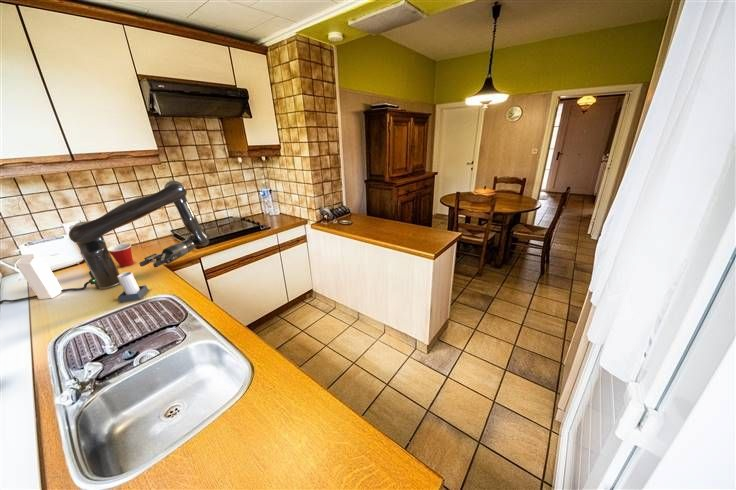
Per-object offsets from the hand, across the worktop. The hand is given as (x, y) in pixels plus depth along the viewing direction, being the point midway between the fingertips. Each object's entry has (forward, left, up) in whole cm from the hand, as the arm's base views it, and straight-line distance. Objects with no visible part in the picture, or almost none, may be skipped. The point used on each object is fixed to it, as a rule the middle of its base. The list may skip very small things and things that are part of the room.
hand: (147, 265), depth 129 cm
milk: (-48, +7, -11) cm, 49 cm away
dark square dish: (-5, -9, -11) cm, 15 cm away
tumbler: (-5, -9, -10) cm, 15 cm away
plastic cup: (-29, +33, -11) cm, 46 cm away
